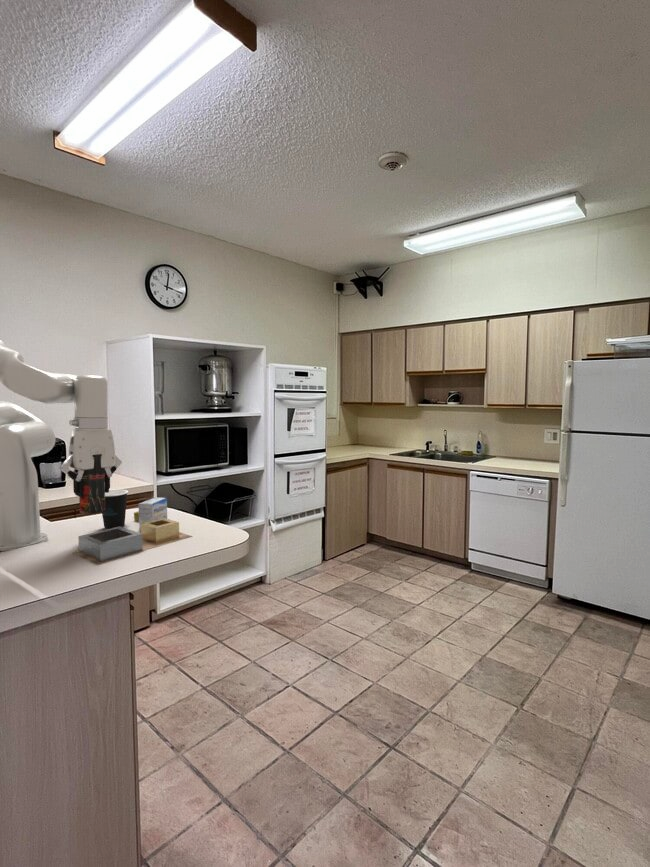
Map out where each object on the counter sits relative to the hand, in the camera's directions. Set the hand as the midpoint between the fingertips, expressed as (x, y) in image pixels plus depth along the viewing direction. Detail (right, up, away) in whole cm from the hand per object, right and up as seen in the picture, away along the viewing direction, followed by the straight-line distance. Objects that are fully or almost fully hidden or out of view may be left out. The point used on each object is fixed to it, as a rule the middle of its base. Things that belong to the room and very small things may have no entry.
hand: (92, 493), depth 120 cm
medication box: (+6, -12, +26) cm, 29 cm away
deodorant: (0, -5, 0) cm, 5 cm away
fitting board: (+12, -14, -1) cm, 18 cm away
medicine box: (+10, -13, +15) cm, 22 cm away
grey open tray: (+8, -13, -6) cm, 17 cm away
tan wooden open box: (+16, -12, +4) cm, 21 cm away
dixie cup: (-1, -13, +15) cm, 20 cm away
